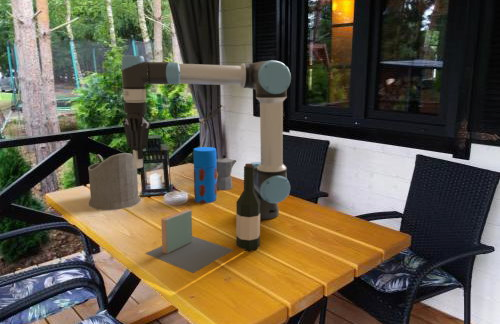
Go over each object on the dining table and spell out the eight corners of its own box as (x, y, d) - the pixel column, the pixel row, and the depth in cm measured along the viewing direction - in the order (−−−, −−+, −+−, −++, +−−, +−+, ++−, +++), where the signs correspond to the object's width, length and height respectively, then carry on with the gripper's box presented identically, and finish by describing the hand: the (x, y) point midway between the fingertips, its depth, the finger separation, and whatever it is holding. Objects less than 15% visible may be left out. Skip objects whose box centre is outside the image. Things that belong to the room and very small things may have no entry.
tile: (162, 252, 132) (161, 218, 129) (187, 240, 141) (187, 209, 139) (167, 254, 130) (166, 220, 128) (192, 242, 140) (192, 210, 137)
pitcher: (100, 214, 169) (96, 157, 163) (74, 196, 192) (70, 146, 186) (149, 202, 184) (147, 150, 179) (120, 188, 207) (117, 141, 201)
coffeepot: (234, 184, 216) (234, 152, 212) (238, 189, 207) (238, 156, 203) (206, 186, 212) (206, 153, 208) (209, 191, 204) (208, 157, 200)
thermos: (212, 204, 183) (212, 151, 178) (191, 202, 185) (190, 150, 180) (219, 197, 194) (219, 147, 188) (198, 195, 196) (197, 146, 190)
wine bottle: (246, 239, 145) (247, 160, 138) (264, 245, 140) (266, 164, 133) (231, 246, 139) (231, 164, 132) (249, 253, 133) (250, 168, 127)
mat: (145, 255, 131) (145, 253, 131) (187, 236, 147) (187, 234, 147) (193, 275, 119) (193, 273, 118) (233, 252, 135) (233, 249, 134)
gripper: (114, 101, 137) (118, 166, 142) (138, 103, 129) (142, 172, 134) (131, 100, 143) (135, 163, 148) (156, 101, 135) (158, 168, 140)
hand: (138, 167), depth 141 cm, fingers closed
